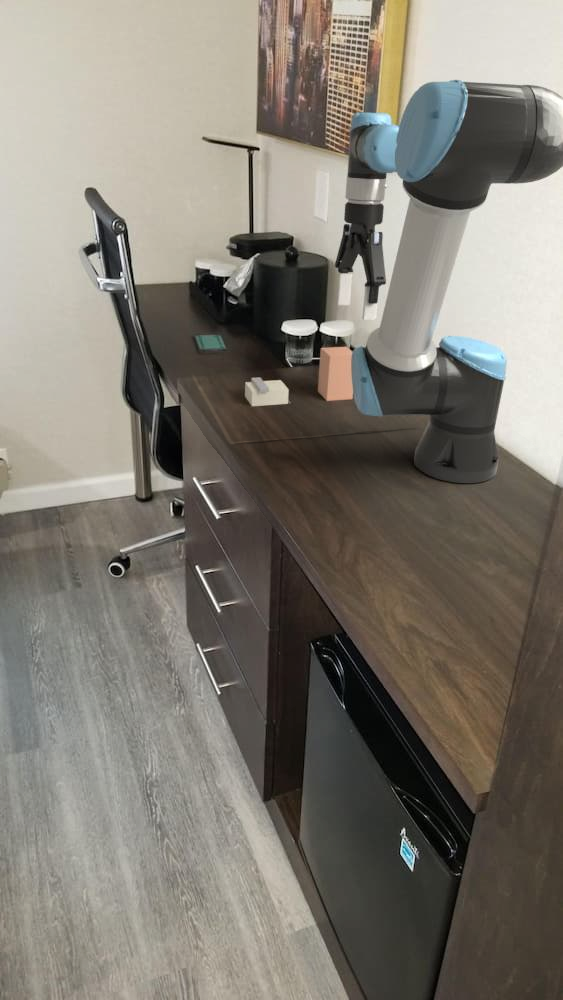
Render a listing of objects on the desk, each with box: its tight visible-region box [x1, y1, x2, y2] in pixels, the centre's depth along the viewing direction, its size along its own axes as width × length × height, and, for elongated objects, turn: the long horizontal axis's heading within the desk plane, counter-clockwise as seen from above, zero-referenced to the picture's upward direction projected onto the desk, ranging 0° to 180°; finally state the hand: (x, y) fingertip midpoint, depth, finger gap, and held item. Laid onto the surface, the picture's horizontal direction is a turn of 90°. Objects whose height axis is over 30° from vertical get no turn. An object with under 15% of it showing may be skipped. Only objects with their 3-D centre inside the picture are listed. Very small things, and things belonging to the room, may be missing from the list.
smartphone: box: [193, 333, 228, 355], centre depth 200 cm, size 7×1×15 cm
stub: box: [317, 346, 354, 402], centre depth 165 cm, size 6×6×10 cm
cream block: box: [244, 377, 292, 407], centre depth 163 cm, size 7×9×5 cm
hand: (355, 312), depth 156 cm, fingers open, 13 cm apart
